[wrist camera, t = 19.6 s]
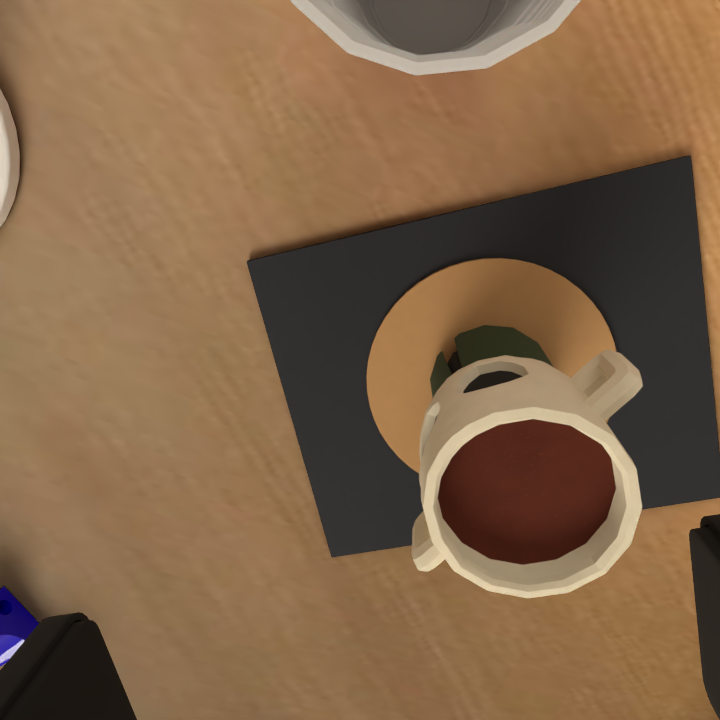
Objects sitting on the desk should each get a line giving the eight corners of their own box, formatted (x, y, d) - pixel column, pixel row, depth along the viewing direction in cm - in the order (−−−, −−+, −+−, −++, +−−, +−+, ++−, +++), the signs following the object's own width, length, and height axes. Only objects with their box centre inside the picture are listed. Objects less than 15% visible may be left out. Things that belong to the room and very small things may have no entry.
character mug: (518, 257, 31) (582, 314, 18) (618, 353, 32) (743, 469, 19) (370, 406, 34) (338, 541, 21) (464, 489, 35) (487, 666, 22)
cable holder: (-32, 609, 41) (-78, 654, 38) (4, 585, 41) (-40, 628, 37) (49, 693, 43) (13, 744, 39) (85, 672, 42) (51, 722, 38)
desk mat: (332, 553, 37) (330, 560, 37) (248, 260, 33) (244, 262, 32) (720, 493, 34) (726, 500, 33) (687, 155, 29) (694, 155, 29)
